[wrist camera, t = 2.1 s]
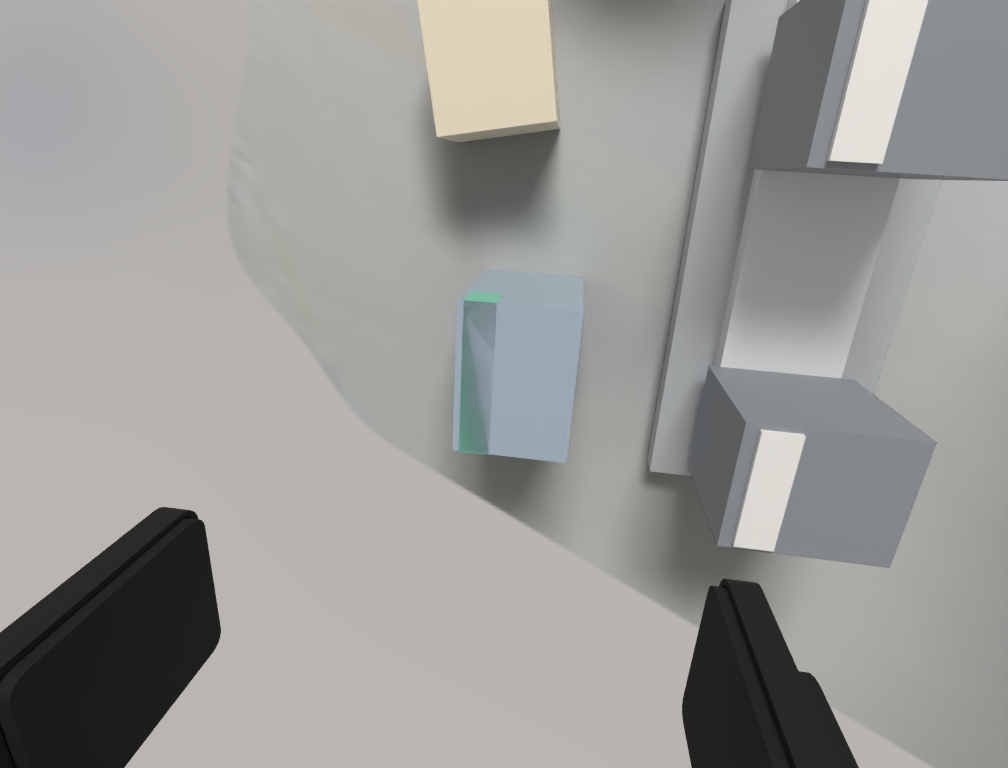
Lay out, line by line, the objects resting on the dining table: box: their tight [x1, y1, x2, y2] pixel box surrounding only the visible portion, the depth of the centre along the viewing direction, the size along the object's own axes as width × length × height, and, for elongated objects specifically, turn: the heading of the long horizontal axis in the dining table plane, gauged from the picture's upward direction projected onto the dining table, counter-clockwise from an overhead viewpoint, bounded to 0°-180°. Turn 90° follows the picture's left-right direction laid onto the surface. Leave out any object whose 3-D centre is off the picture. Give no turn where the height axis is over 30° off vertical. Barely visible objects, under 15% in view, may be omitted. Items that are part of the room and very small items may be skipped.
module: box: [452, 269, 584, 463], centre depth 24 cm, size 6×4×7 cm
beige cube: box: [418, 0, 561, 142], centre depth 22 cm, size 4×4×4 cm
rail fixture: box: [647, 0, 1008, 568], centre depth 21 cm, size 20×9×8 cm, turn 176°
